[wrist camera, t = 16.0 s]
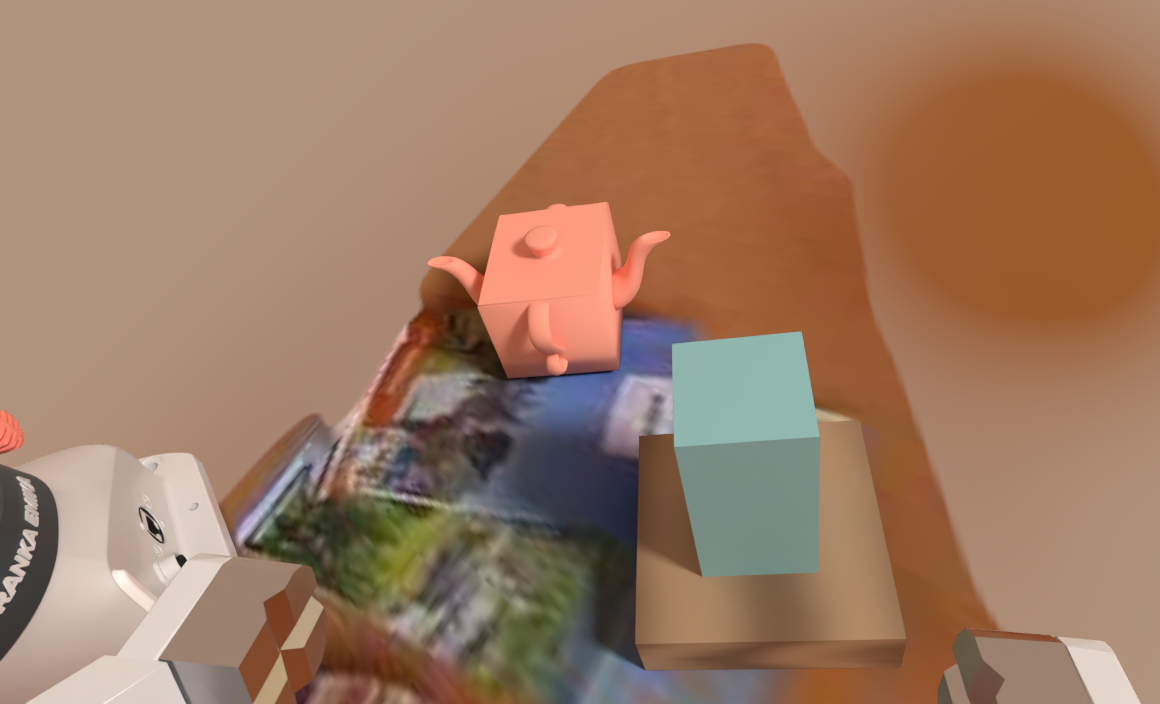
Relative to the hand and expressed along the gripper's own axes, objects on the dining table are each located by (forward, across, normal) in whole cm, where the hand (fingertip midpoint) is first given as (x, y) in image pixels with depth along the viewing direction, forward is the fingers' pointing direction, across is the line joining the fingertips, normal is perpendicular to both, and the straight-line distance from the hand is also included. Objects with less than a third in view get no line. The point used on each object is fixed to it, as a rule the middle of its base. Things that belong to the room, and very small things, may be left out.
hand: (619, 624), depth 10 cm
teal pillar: (+21, -4, +18) cm, 28 cm away
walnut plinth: (+21, -5, +21) cm, 30 cm away
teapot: (+37, +6, +18) cm, 42 cm away
